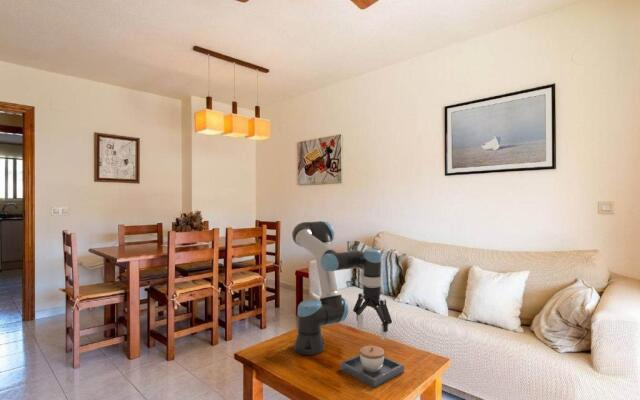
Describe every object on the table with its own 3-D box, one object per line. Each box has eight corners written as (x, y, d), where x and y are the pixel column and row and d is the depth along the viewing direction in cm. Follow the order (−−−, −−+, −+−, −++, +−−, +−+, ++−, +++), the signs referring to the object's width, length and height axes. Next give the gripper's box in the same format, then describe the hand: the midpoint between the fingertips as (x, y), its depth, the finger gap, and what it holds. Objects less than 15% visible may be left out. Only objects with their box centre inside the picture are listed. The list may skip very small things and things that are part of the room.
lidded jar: (389, 371, 150) (389, 349, 149) (368, 376, 145) (368, 354, 145) (375, 360, 159) (375, 340, 159) (355, 365, 155) (355, 344, 155)
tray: (340, 369, 153) (340, 362, 153) (370, 356, 166) (370, 350, 166) (374, 387, 138) (374, 380, 138) (403, 372, 151) (403, 365, 151)
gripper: (400, 290, 145) (400, 340, 145) (357, 278, 164) (356, 323, 164) (389, 293, 140) (388, 345, 140) (345, 281, 159) (345, 327, 159)
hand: (371, 333), depth 152 cm, fingers open, 13 cm apart
